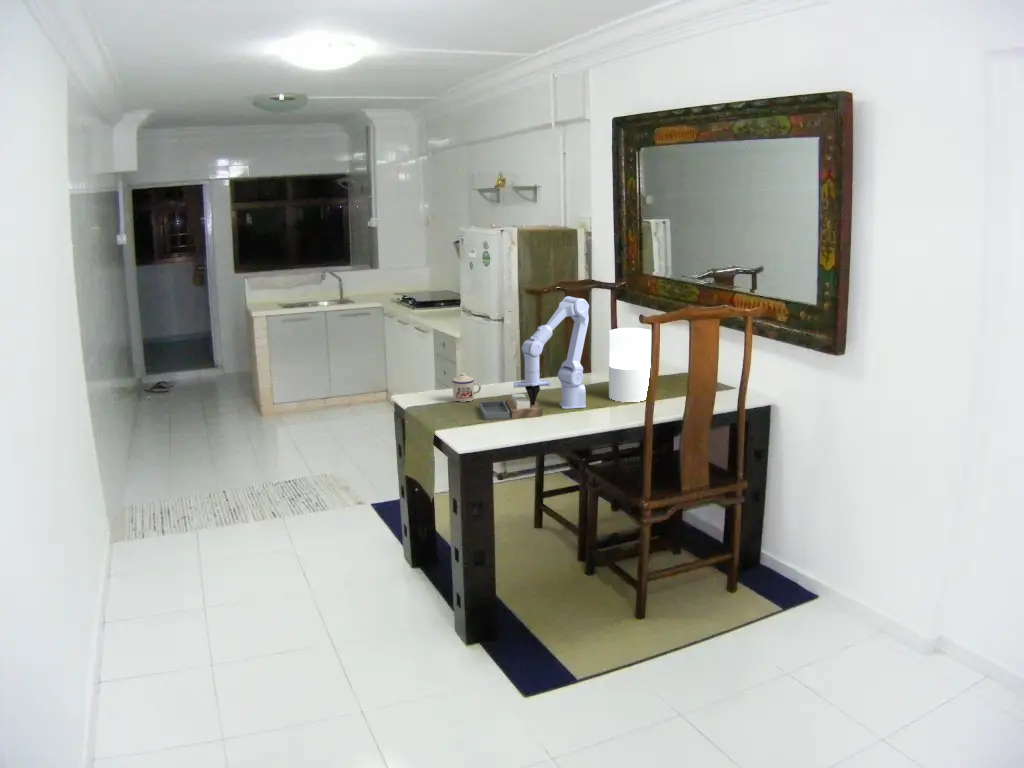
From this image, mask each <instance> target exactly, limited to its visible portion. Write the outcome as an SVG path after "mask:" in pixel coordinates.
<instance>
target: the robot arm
mask: <svg viewBox="0 0 1024 768" xmlns="http://www.w3.org/2000/svg"><path fill="white" fill-rule="evenodd" d="M589 309H590V305H589V303H588V301H587V300H586V299H585V298H579V297H574V296H569V295H568V296H565V297H564V298H563V299H562V301H560V302H559V303H558V307H557V309H556V310H555V312H554V313H553V314H552V316H551V317H550V319H549V320H548V321H547V322H546V324H544V325H543V324H541V325H539V326H538V327H537V330H536V331H534V333H533V335H531V336H530V337H529V339H526V340H525V341H524V342H523V344H522V345H521V347H520V349H521V351H522V353H523V358H524V380H523V381H513V388H514V389H518V388H519V389H520V388H525V391H526V393H527V394H528V398H529V399H530V404H531V405H535V401H537V397H538V395H539V392H540V390H541V387H552V381H551V380H548V379H547V380H543V379H540V373H541V372H540V355H541V354H542V352H543V350H544V346H545V344H546V343H547V342H548V341H549V340H550V339H551V338H552V336H553V331H554V330H555V329H556V328H557V327H558V325H559V324H561V322H562V321H563V320H564V319H565V318H567V317H571V318H572V320H573V321H574V322H573V327H572V332H571V335H570V342H569V346H568V351H567V356H566V359H565V360H564V361H563V362H562V363H561V366H560V369H559V370H558V371H557V378H558V380H559V381H560V384H561V402H559V403H558V404H559V406H560V407H561V408H562V409H563V410H569V409H582V408H587V405H586V403H587V401H586V399H587V397H586V393H587V392H586V386H585V384H583V380H584V373H583V372H584V367H583V365H582V364H581V360H582V355H583V349H584V346H585V339H586V335H587V330H588V327H589V319H590V317H589Z"/></svg>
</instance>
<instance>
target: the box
mask: <svg viewBox="0 0 1024 768" xmlns="http://www.w3.org/2000/svg"><path fill="white" fill-rule="evenodd" d="M478 404H479V407H478V408H479V410H480V413H481V412H482V413H481V415H482V417H483V419H484V421H492V420H493V421H495V419H497V420H509V419H510V420H511V419H512V418H511V416H510V411H509V409H508V407H507V406H506V404H505V400H495V401H493V400H491V401H479V402H478Z"/></svg>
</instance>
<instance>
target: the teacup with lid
mask: <svg viewBox="0 0 1024 768" xmlns="http://www.w3.org/2000/svg"><path fill="white" fill-rule="evenodd" d="M474 385H478V386H479V387H478V390H477V391H475V389H474V388H475V387H474ZM452 389H453V390H452V394H453V396H452V397H453V401H454V400H455V401H454V402H456V401H460V402H459V403H467V402H466V401H471V402H473V401H474V400H475V395H477V394H479V393H480V392H481V390H482V384H480V382H477V381H475V379H474V377H472V376H469V375H466V373H465V372H461V373H460V374H459V375H457V376H456V377H453V378H452ZM472 400H473V401H472Z"/></svg>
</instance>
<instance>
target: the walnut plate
mask: <svg viewBox="0 0 1024 768" xmlns="http://www.w3.org/2000/svg"><path fill="white" fill-rule="evenodd" d="M526 399H528V400H529V402H530V399H529V397H526ZM504 402H505V404H506V406H507V407H508V409H509V411H510V417H511V419H525V418H526V417H528V418H540V417H539V416H542V417H543V408H542V407H541V406H540V404H539V402H538V401H537V400H536V401H535V405H531V404H530V408H527V409H517V408H516V406H515V404H514V403H513V401H512V398H507V399H504Z"/></svg>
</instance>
